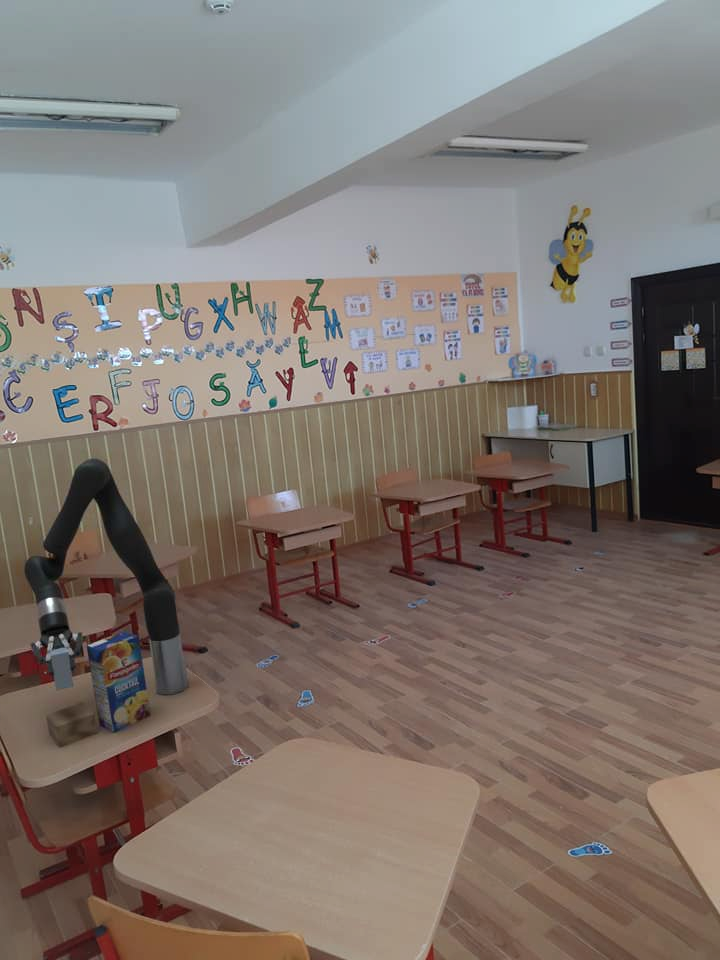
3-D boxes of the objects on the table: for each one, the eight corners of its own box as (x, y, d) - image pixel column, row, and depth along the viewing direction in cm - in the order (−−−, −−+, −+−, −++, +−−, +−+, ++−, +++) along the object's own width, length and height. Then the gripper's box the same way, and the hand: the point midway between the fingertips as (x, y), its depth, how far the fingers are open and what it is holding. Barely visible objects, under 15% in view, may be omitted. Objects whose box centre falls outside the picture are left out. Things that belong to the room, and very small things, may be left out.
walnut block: (85, 721, 214) (82, 702, 213) (97, 733, 206) (93, 713, 205) (49, 735, 208) (45, 715, 207) (60, 747, 200) (56, 727, 199)
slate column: (72, 680, 207) (66, 646, 206) (73, 686, 203) (68, 651, 202) (55, 684, 205) (49, 650, 204) (56, 690, 202) (50, 655, 200)
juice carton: (136, 708, 219) (124, 631, 215) (150, 714, 214) (139, 635, 210) (99, 726, 210) (86, 645, 206) (113, 733, 205) (100, 650, 201)
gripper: (24, 617, 205) (33, 673, 196) (78, 605, 211) (89, 660, 202) (26, 629, 210) (35, 685, 202) (79, 618, 216) (90, 671, 208)
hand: (62, 672), depth 202 cm, fingers closed on slate column, 4 cm apart
